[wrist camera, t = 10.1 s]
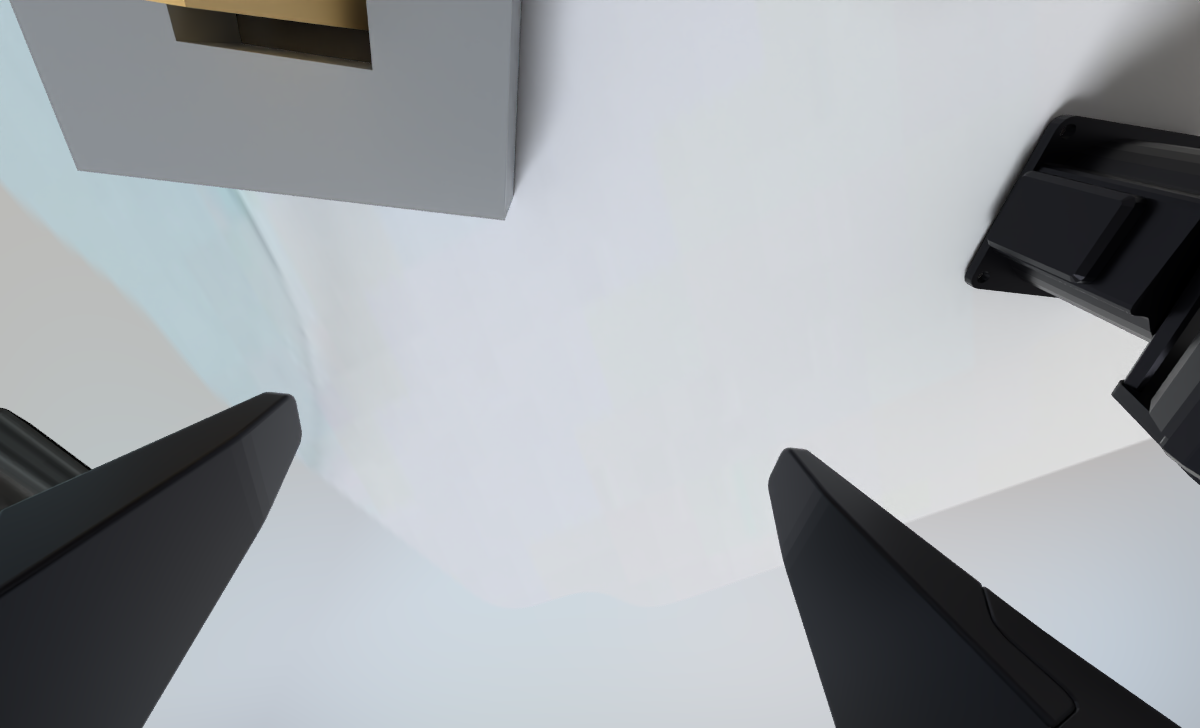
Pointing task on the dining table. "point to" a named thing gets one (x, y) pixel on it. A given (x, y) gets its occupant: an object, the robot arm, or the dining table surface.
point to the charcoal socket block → (289, 101)
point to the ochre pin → (290, 10)
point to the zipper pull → (31, 460)
